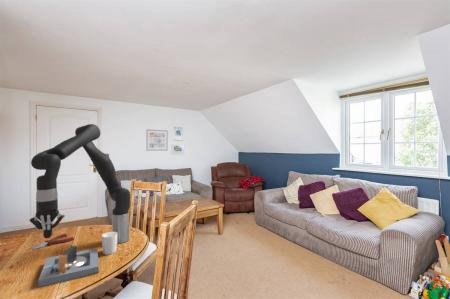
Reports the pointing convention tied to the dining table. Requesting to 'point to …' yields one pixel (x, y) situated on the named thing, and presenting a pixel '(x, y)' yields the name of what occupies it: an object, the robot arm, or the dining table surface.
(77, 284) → the dining table surface
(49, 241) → the pliers
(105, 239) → the white cup
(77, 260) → the dial
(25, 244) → the dining table surface
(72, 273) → the housing
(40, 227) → the robot arm
